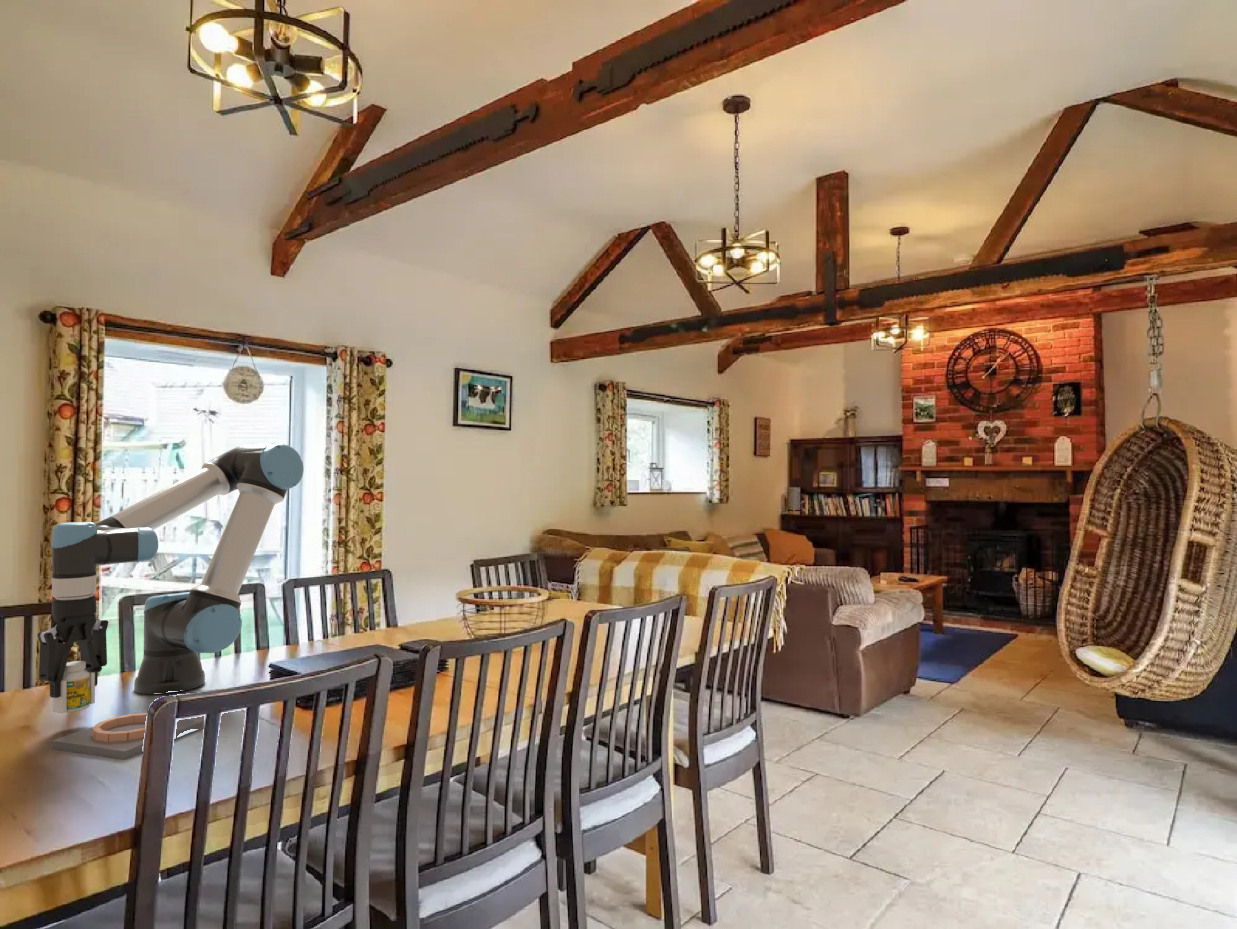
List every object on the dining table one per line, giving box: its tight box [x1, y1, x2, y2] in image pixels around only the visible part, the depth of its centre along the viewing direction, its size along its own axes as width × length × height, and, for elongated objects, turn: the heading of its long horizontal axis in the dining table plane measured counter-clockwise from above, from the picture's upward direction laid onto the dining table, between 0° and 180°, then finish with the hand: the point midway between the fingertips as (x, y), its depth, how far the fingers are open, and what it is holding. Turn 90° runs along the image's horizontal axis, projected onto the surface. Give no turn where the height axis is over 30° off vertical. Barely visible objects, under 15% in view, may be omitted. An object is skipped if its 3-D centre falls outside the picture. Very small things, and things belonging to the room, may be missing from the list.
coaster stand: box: [51, 712, 204, 760], centre depth 150 cm, size 18×18×3 cm
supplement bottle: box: [62, 660, 91, 714], centre depth 156 cm, size 5×5×10 cm
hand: (74, 707), depth 156 cm, fingers closed on supplement bottle, 5 cm apart
